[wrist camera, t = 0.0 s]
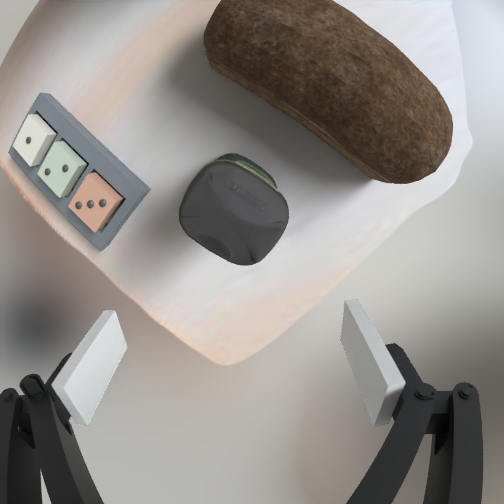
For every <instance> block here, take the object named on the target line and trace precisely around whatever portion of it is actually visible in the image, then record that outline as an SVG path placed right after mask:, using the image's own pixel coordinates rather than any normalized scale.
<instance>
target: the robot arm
mask: <svg viewBox="0 0 504 504" xmlns="http://www.w3.org/2000/svg"><path fill="white" fill-rule="evenodd" d="M341 343H342V345H343V348H344V350H345V353H346V355H347V358H348V360H349V363H350V366H351V368H352V371H353V373H354V376H355V378H356V381H357V384H358V387H359V389H360V392H361V395H362V397H363V400H364V403H365V405H366V408H367V411H368V414H369V417H370V419H371V422H372V425H373V427H376V426H381V425H385V424H389V422H390V420H391V417H392V416H393V419H394V421H395V422H394V424H393V427H392V428H391V430H390V432H389V434H388V436H387V438H386V440H385V442H384V444H383V445H382V447H381V449H380V451H379V453H378V454H377V456H376V458H375V460H374V461H373V463H372V465H371V466H370V468H369V470H368V471H367V473H366V475H365V476H364V478H363V479H362V481H361V482H360V484H359V485H358V487H357V488H356V490H355V491H354V493H353V494H352V496H351V497H350V499H349V500H348V502H347V503H346V504H391V503H392V502H393V500H394V498H395V496H396V494H397V492H398V491H399V489H400V487H401V485H402V483H403V481H404V479H405V477H406V475H407V473H408V471H409V469H410V467H411V464H412V462H413V460H414V458H415V455H416V453H417V451H418V449H419V446H420V443H421V441H422V439H423V436H424V434H432V446H431V456H430V464H429V472H428V479H427V484H426V491H425V496H424V501H423V504H481V499H482V484H483V438H482V422H481V412H480V403H479V394H478V391H477V389H476V388H475V387H474V386H473V385H472V384H470V383H466V382H464V383H459V384H457V385H456V386H455V387H454V389H453V391H436V389H435V388H434V387H433V386H431V385H429V384H427V383H423V382H422V380H421V378H420V377H419V375H418V373H417V372H416V370H415V368H414V367H413V365H412V363H410V360H409V358H408V357H407V355H406V353H405V352H404V350H403V349H402V348H401V347H399V346H398V345H397V344H395V343H394V344H388V345H385V344H384V343H383V341H382V339H381V337H380V336H379V334H378V332H377V330H376V329H375V327H374V325H373V324H372V322H371V320H370V319H369V317H368V315H367V314H366V312H365V310H364V309H363V307H362V305H361V304H360V302H359V301H358V299H355V300H346V301H345V305H344V315H343V324H342V332H341ZM126 349H127V344H126V342H125V339H124V336H123V333H122V330H121V327H120V324H119V321H118V318H117V316H116V312H115V310H104V312H103V313H102V314H101V316H100V317H99V318H98V319H97V321H96V322H95V323H94V325H93V326H92V327H91V329H90V330H89V331H88V333H87V334H86V336H85V337H84V338H83V340H82V341H81V342H80V344H79V345H78V347H77V348H76V350H75V351H74V352H73V353H69V354H68V355H67V356H65V357H64V358H63V359H62V361H61V362H60V364H59V366H58V367H57V368H56V370H55V371H54V372H53V373H52V375H51V376H50V378H49V379H48V381H47V382H46V384H44V383H43V381H42V379H41V378H40V376H39V375H37V374H30V375H27V376H25V377H24V378H23V379H22V381H21V382H20V388H21V390H22V391H23V393H24V394H25V395H19V394H18V393H17V391H16V390H15V389H13V388H8V389H5V390H4V391H3V392H2V393H1V394H0V504H42V493H41V474H40V468H41V472H42V475H43V479H44V482H45V485H46V488H47V492H48V494H49V498H50V501H51V503H52V504H104V503H103V501H102V499H101V497H100V495H99V493H98V491H97V489H96V486H95V484H94V482H93V480H92V478H91V476H90V473H89V471H88V469H87V466H86V464H85V461H84V459H83V456H82V454H81V451H80V449H79V446H78V443H77V440H76V438H75V435H74V432H73V429H72V426H71V424H70V422H69V419H70V417H71V416H72V418H73V419H74V421H75V422H76V423H77V424H81V425H85V426H88V425H89V423H90V421H91V419H92V417H93V414H94V412H95V410H96V408H97V406H98V404H99V402H100V400H101V398H102V396H103V394H104V392H105V390H106V388H107V386H108V384H109V382H110V380H111V378H112V376H113V374H114V372H115V370H116V368H117V366H118V364H119V362H120V360H121V358H122V356H123V355H124V353H125V351H126ZM18 428H19V429H18Z"/></svg>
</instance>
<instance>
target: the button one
mask: <svg viewBox="0 0 504 504" xmlns="http://www.w3.org/2000/svg"><path fill="white" fill-rule="evenodd" d="M56 135H57V134H56V133H55V132H54V131H53V130H52V129H51V128H50V127H49V126H48V125H47V123H46V122H45V121H44V120H43V119H42V118H41V117H40V116H39V115H38V114H29V115H28V116H27V118H26V120H25V122H24V124H23V126H22V128H21V130H20V132H19V133H18V135H17V138H16V140H15V142H14V144H13V147H14V148H15V149H16V150H17V152H18V153H19V154H20V155H21V156H22V158H23V159H24V160H25V161H26V162H27V163H28V165H29V166H30V167H31V166H36V165H40V163H41V161H42V159H43V158H44V156H45V154H46V152H47V150H48V149H49V147H50V145H51V143H52V142H53V140H54V138H55V136H56Z"/></svg>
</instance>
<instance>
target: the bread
mask: <svg viewBox="0 0 504 504" xmlns="http://www.w3.org/2000/svg"><path fill="white" fill-rule="evenodd" d="M204 46H205V48H206V51H205V52H206V55H207V58H208V61H209V64H210V66H211V67H212V68H213V69H215V70H216V71H218V72H219V73H221V74H223V75H225V76H226V77H228V78H230V79H232V80H233V81H235V82H237V83H238V84H240V85H242V86H244V87H245V88H247V89H249V90H250V91H252V92H254V93H255V94H257V95H259V96H260V97H262V98H263V99H265V100H266V101H268V102H269V103H270V104H272V105H273V106H275V107H276V108H278V109H280V110H282V111H283V112H285V113H287V114H288V115H290V116H291V117H293V118H294V119H296V120H297V121H299V122H300V123H301V124H303V125H304V126H305V127H307V128H308V129H309V130H310V131H312V132H313V133H314V134H316V135H317V136H318V137H320V138H321V139H322V140H323V141H325V142H326V143H327V144H329V145H330V146H331V147H333V148H334V149H335V150H337V151H338V152H339V153H341V154H342V155H343V156H345V157H346V158H347V159H348V160H350V161H351V162H352V163H353V164H354V165H356V166H357V167H358V168H359V169H361V170H362V171H363V172H364V173H365V174H367V175H368V176H369V177H370V178H372V179H375V180H378V181H382V182H385V183H394V184H408V183H412V182H415V181H419V180H421V179H423V178H424V177H426V176H428V175H430V174H432V173H434V172H435V171H436V170H437V169H438V167H439V166H440V165H441V163H442V162H443V160H444V159H445V157H446V156H447V154H448V151H449V149H450V146H451V141H452V133H453V122H452V115H451V113H450V111H449V108H448V106H447V104H446V102H445V101H444V99H443V97H442V96H441V94H440V92H439V91H438V89H437V88H436V87H435V86H434V85H433V83H432V82H431V81H430V80H429V79H428V78H427V77H426V76H425V75H424V74H423V73H422V72H421V71H420V70H419V69H418V68H417V67H416V66H415V65H414V64H413V63H412V62H411V61H410V60H409V59H408V58H407V57H406V56H405V55H404V54H403V53H402V52H401V51H400V50H399V49H398V48H397V47H396V46H395V45H394V44H393V43H391V42H390V41H389V40H387V39H386V38H385V37H383V36H382V35H380V34H379V33H378V32H376V31H375V30H374V29H372V28H371V27H370V26H368V25H367V24H366V23H364V22H363V21H362V20H361V19H360V18H358V17H357V16H356V15H355V14H353V13H352V12H350V11H349V10H347V9H346V8H344V7H342V6H341V5H339V4H337V3H336V2H334V1H333V0H221V2H220V3H219V4H218V6H217V7H216V9H215V11H214V13H213V15H212V16H211V18H210V20H209V22H208V24H207V27H206V29H205V32H204Z"/></svg>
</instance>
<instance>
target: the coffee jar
mask: <svg viewBox="0 0 504 504" xmlns="http://www.w3.org/2000/svg"><path fill="white" fill-rule="evenodd" d="M288 219H289V210H288V205H287V202H286V200H285V198H284V197H283V195H282V194H281V193H280V192H279V191H278V190H277V187H276V184H275V181H274V179H273V178H272V177H271V176H270V175H269V174H268V173H267V172H266V171H265V170H263V169H262V168H261V167H260V166H258V165H257V164H255V163H254V162H252V161H250V160H249V159H247V158H245V157H243V156H241V155H238V154H234V153H229V154H225V155H223V156H221V157H220V158H219V159H218V160H216V161H213V162H211V163H209V164H207V165H205V166H204V167H203V168H202V169H201V170H200V171H199V172H198V173H197V175H196V176H195V178H194V179H193V180H192V182H191V183H190V185H189V187H188V188H187V190H186V192H185V195H184V197H183V200H182V203H181V206H180V210H179V221H180V224H181V226H182V228H183V230H184V231H185V233H186V234H187V235H188V236H189V237H191V238H192V239H193V240H195V241H196V242H197V243H199V244H200V245H202V246H203V247H205V248H206V249H208V250H209V251H211V252H212V253H214V254H216V255H218V256H220V257H221V258H223V259H225V260H227V261H229V262H231V263H234V264H237V265H253V264H256V263H258V262H260V261H261V260H262V259H263V258H265V256H266V255H267V254H268V253H269V252H270V251H271V250H272V249H273V247H274V246H275V245H276V243H277V242H278V241H279V239H280V238H281V236H282V234H283V233H284V231H285V229H286V226H287V224H288Z"/></svg>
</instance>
